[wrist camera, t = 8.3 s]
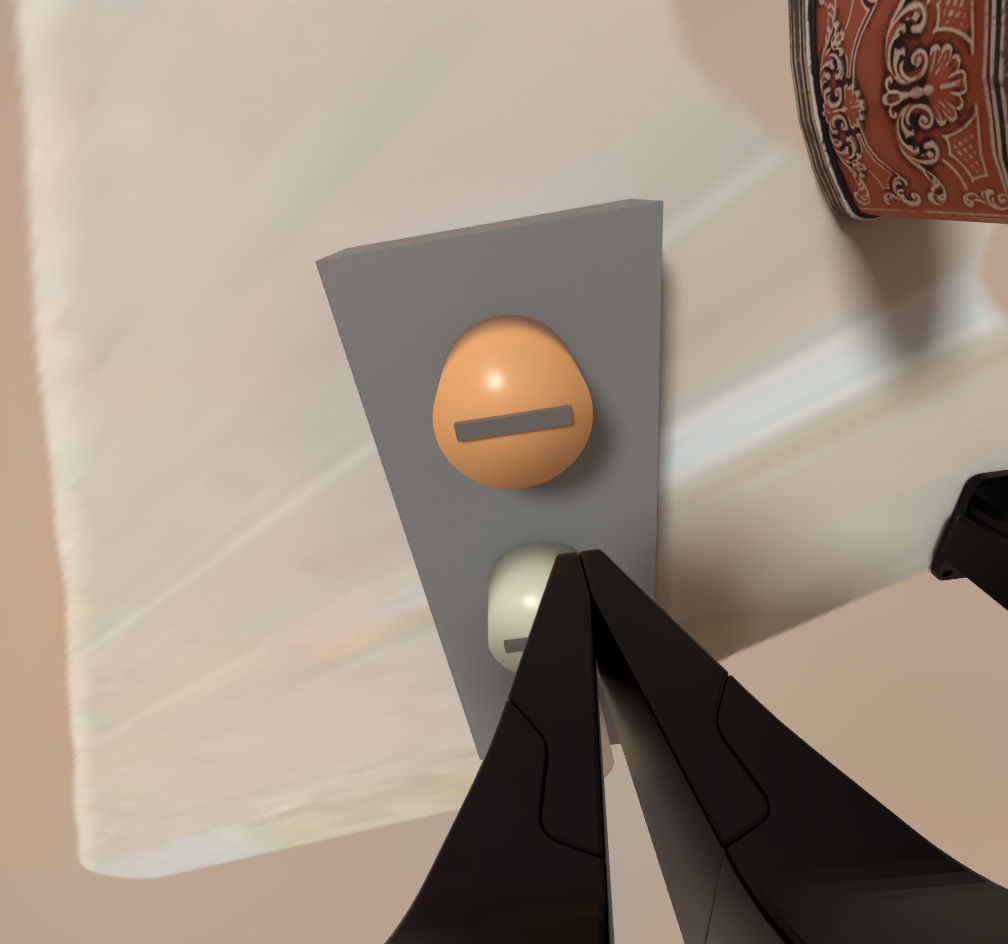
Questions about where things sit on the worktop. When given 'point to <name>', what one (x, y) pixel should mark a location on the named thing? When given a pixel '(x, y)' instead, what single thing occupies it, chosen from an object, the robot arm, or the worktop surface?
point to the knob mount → (415, 379)
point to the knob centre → (517, 597)
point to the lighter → (905, 105)
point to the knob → (511, 404)
